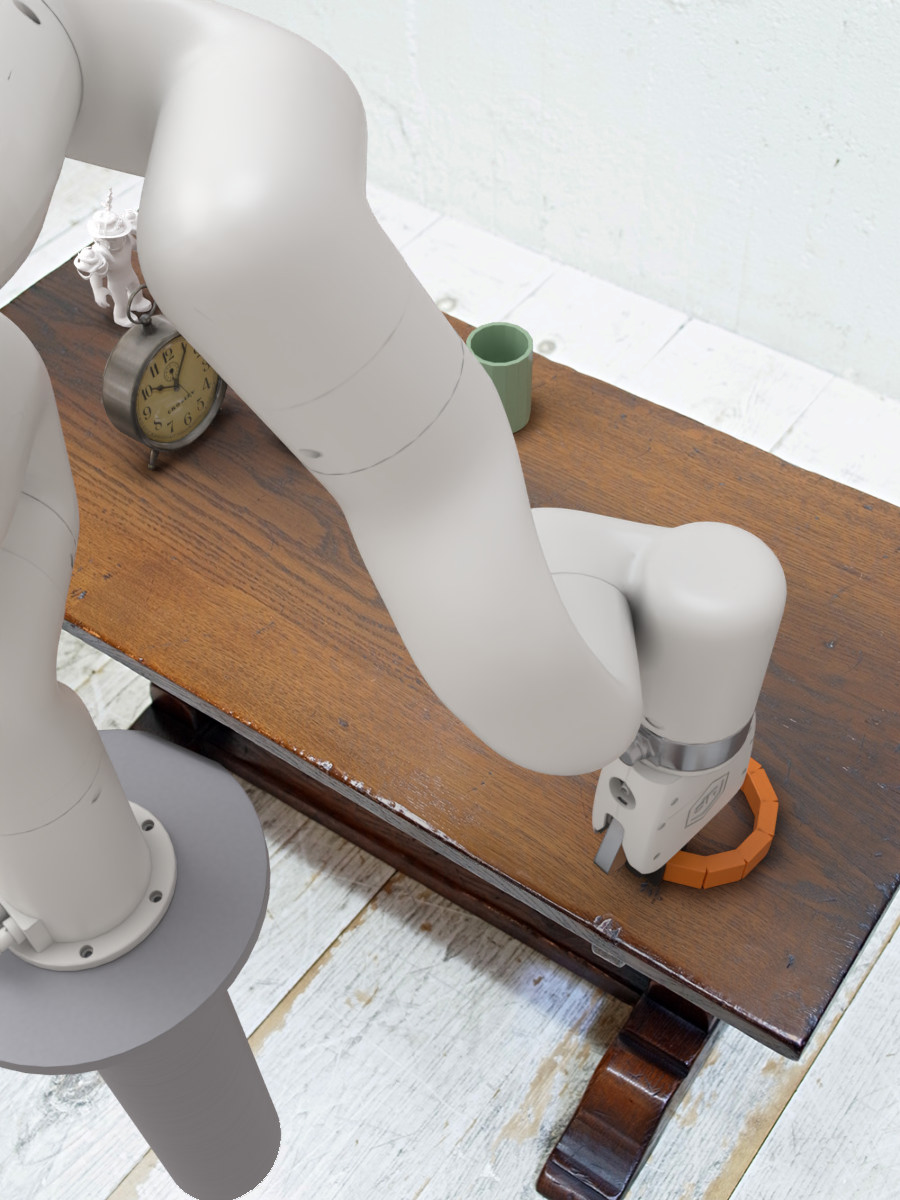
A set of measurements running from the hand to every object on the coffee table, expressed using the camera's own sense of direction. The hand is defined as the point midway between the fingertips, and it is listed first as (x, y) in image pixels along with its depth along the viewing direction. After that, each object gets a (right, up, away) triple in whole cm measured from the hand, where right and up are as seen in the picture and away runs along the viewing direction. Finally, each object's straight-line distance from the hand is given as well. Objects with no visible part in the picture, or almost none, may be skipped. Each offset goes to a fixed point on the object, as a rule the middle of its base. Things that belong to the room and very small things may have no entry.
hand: (651, 858), depth 87 cm
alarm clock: (-38, +32, +27) cm, 56 cm away
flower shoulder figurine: (-44, +45, +38) cm, 74 cm away
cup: (-9, +34, +28) cm, 45 cm away
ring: (+3, +2, +2) cm, 5 cm away
